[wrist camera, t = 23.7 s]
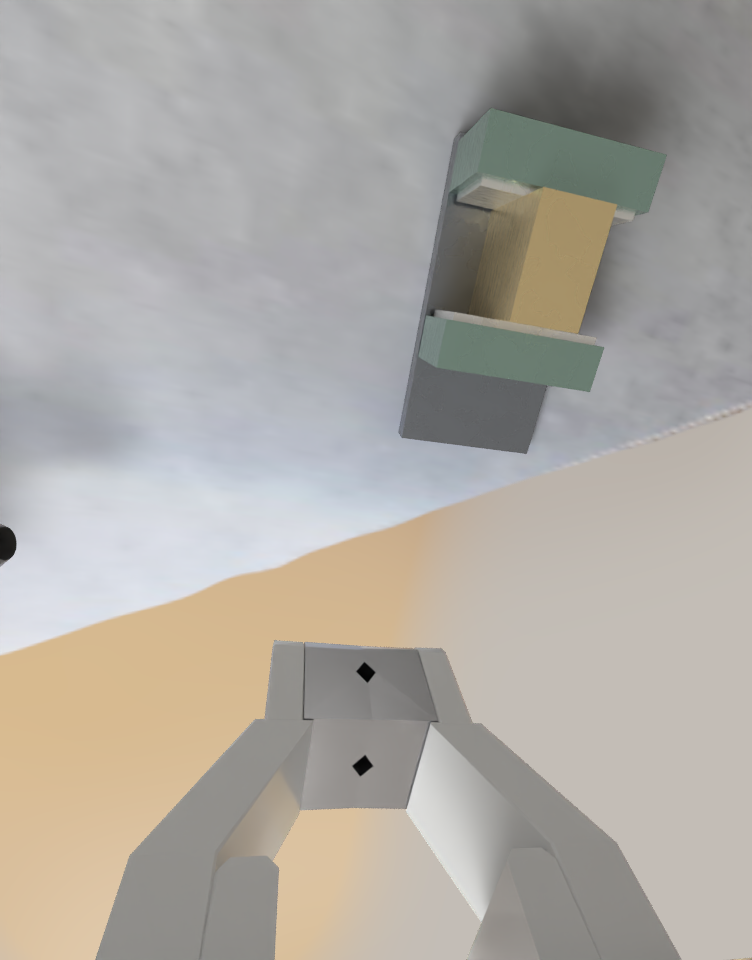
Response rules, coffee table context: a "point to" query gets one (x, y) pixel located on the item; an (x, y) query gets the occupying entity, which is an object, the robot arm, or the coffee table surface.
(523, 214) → the brass block
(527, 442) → the vise
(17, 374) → the coffee table surface
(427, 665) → the robot arm
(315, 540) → the coffee table surface
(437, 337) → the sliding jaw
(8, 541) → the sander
